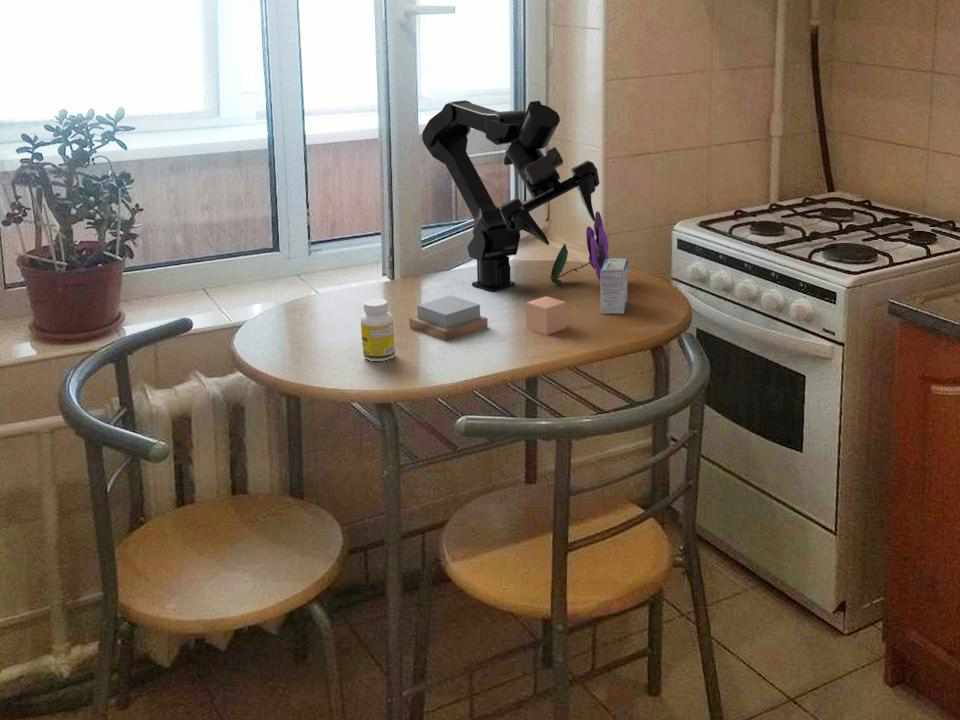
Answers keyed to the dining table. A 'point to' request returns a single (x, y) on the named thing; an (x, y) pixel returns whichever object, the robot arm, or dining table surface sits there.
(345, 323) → the dining table surface
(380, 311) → the supplement bottle
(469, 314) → the top block
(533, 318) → the terracotta cube
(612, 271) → the medicine box
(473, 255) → the robot arm
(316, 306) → the dining table surface
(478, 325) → the bottom block
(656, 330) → the dining table surface
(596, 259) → the flower
